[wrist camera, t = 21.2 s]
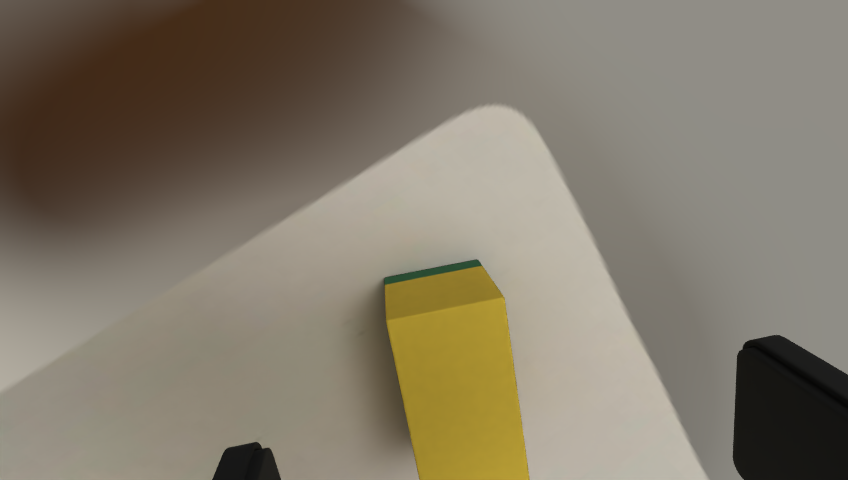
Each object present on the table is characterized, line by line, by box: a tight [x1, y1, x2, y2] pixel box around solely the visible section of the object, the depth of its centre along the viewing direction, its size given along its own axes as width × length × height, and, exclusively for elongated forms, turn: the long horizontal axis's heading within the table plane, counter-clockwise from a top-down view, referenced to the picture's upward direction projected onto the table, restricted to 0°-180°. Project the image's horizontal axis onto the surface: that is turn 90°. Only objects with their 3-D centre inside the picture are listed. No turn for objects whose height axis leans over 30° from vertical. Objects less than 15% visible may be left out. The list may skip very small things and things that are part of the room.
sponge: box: [384, 260, 530, 480], centre depth 22 cm, size 5×9×5 cm, turn 10°
